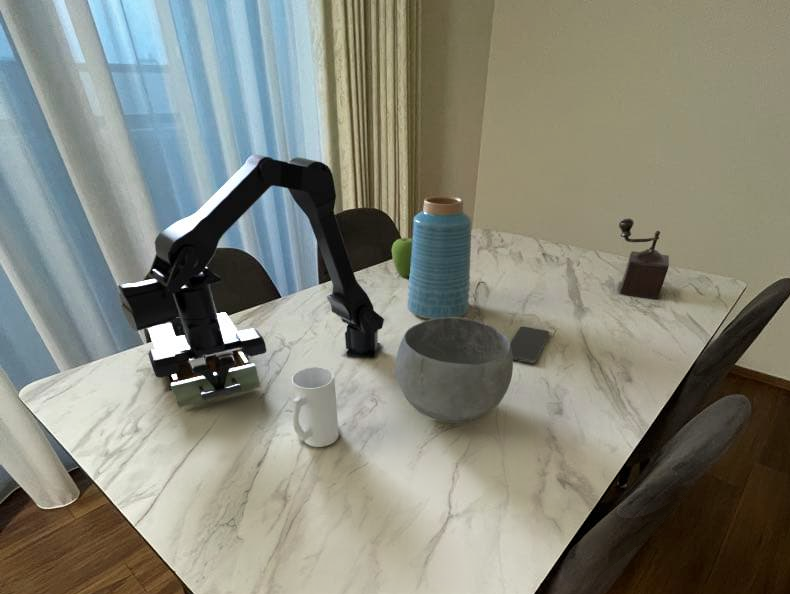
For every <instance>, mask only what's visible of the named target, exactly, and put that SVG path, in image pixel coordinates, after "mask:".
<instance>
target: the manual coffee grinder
mask: <svg viewBox="0 0 790 594" xmlns="http://www.w3.org/2000/svg"><path fill="white" fill-rule="evenodd" d="M633 227H634V220H633V219H632V218H624V219H622V220H621V221H620V222H619V223H618V228H619V230H620V231H621V234H620V237H621V238H623V240H625V242H628V243H648V242H652V244H651V246H650V247H649V248H647V249H645V250H642V251H633V250H631V252H630V254H629V258H628V261H627V263H626V267H625V269H624V272H623V277H622V280H621V283H620V286H619V293H620V295H624V296H629V297H637V298H642V299H643V298H644V299H652V300H658V299H659V297H660V294H661V291H662V288H663V285H664V282H665V279H666V276H667V273H668V270H669V266H670V256H669V255H668V254H663V253H662V254H661V252H659V251H658V250H656V245H657V241H658V240H659V239H660V234H661V231H660V230H656V231H655V233H654V236H653V237H649V238H630V236H632V232H631V230H632V228H633Z"/></svg>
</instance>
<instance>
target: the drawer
mask: <svg viewBox="0 0 790 594" xmlns="http://www.w3.org/2000/svg"><path fill="white" fill-rule="evenodd" d="M232 356H233V357H234V359H235V361H236V363H235V364H234V365H231V366H230V369H229V372H228V374H227V377H226V382H225V387H224V388H221V389H217V390H215V388H214V387H213V386H212V385H211V383H210V382H209V381H208V380H207V379H206V378H205V377H204V376H203V375H202V374H201V373H193V371H192V369H191V367H190V364H189V362H188V361H187V362H182V363H178V364H179V367H180V369H179V371H178V372H177V374H173V375H171V376H172V379H173V382H174V383H170V385H171V388H172V389H171V390H172V393H173V396H174V398H175V399H174V400H175V402H176V404H177V407H178V409H180V408H184V407H189V406H193V405H197V404H200V403H204V402H207V401H211V400H215V399H219V398H223V397H226V396H231V395H234V394H237V393H242V392H245V391H249V390H252V389H256V388H260V387H261V383H260V378H259V374H258V370H257V366H256V364H255V362H253V363H250V364H249V362H250V360H249V361H248V360H247V358H246V357H245V355H244V354H243V352H242V351H241V349H240V350H235V351H233V354H232ZM206 360H207V362H208V364H209V366H210V368H211V370H212V372H213V374H214V377H215V379H216V381H217V375H216V368H215V362H214V358H213V356H209V357H206ZM217 383H218V382H217Z"/></svg>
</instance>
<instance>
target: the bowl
mask: <svg viewBox="0 0 790 594" xmlns="http://www.w3.org/2000/svg"><path fill="white" fill-rule="evenodd" d="M510 343H511V341H510V340H509V338H508V337H507V336H506V335H505V334H504V333H502V332H501V331H499V330H498V329H497V328H496V327H494V326H493V325H490V324H488V323H485V322H481V321H479V320H477V319H473V318H468V317H441V318H434V319H431V320H427V319H426V320H425V321H422V322H419V323H417V324H415V325H412V326H411V327H409V329H407V330H406V331H405V334H404V335H403V337H402V339H401V340H400V344H399V347H398V350H397V353H396V358H395V374H396V375H395V376H396V381H397V384H398V387H399V390H400V392H401V393H402V395H403V397H404V398H405V399H406V401H407V402H408V403H409V404H410V405H411V406H412V407H413V408H414V409H415V410H416V411H417V412H419V413H420V414H422V415H424V416H426V417H428V418H430V419H432V420H436V421H438V422H439V421H440V422H442V423H448V424H449V423H450V424H463V423H468V422H471V421H475V420H477V419H479V418H481V417H483V416H485V415H487V414H489V413H490V412H492V411H493V410H494V409H495V408H497V406H498V405H499V404H500V403H501V402H502V400H503V399H504V397H505V396H506V394H507V392H508V390H509V387H510V384H511V380H512V378H513V370H514V360H513V355H512V350H511V345H510Z"/></svg>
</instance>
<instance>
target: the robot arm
mask: <svg viewBox="0 0 790 594" xmlns="http://www.w3.org/2000/svg"><path fill="white" fill-rule="evenodd" d="M246 159H247V160H246V161H245V163H244V165H242V166H241V167H240V169H239V170H237V171H236V173H234V174H233V176H232V177H231V178H230V179H229V180H227V181H226V182H225V184H224V185H222V186H221V187H220V189H218V190H217V192H215V193H214V194H213V195H212V197H210V199H208V200H207V201H206V203H204V205H202V207H200V209H198V210H197V211H196V212H195V213H193V214H192V215H190V216H187V217H185V218H182V219H180V220H178V221H176V222H174V223H173V224H171V225H170V226H168V227H167V228H165V229H164V230H162V231H161V232H160V233H158V235H157V236H156V238H155V240H154V247H155V256H154V258H153V261H152V264H151V266H150V269H149V271H148V277H149V278H150V279H146V280H142V281H137V282H132V283H130V282H128V283H127V282H126V283H121V284H118V285H117V288H118V290H119V291H118V292H119V298H120V303H119V304H120V307H121V309H122V313H123V314H124V316H125V318H126V321H127V322H128V324H129V326H130V327H131V328H132V330H133V331H134V332H140V331H143V330H148V329H147V328H150V327H154V326H157V325H162V324H168V323H171V325H172V328H173V331H174V334H175V336H176V337H178V336H183V335H185V338H186V342H187V344H188V345H189V347H190V349H187V350H182V351H177V352H174V351H173V348H172V346H171V345H170V346H165V347H160V348H155V349H154V348H151V349H150V350H149V351H148V353H147V354H148V358H149V361H150V364H151V367H152V370H153V373H154V375H155V377H156V378H164V377H165V376H169V375H173V374H177V372H178V371H179V369H180V367H179V364H178V363H182V362H187V361H188V362H189V364H190V367H191V369H192V371H193V373H201V374H202V375H203V376H204V377H205V378H206V379H207V380H208V381H209V382H210V383H211V385H212V386H213V387H214V388H215V390H217V389H221V388H224V387H225V382H226V377H227V374H228V372H229V369H230V366H231V365H234V364H235V363H236V361H235V359H234V357H233V356H232V354H233V351H235V350H240V349H244V353H245V354H247V355H248V357H255V356H259V355H262V354H263V355H264V354H266V353H267V345H266V342H265V340H264V337H263V336H262V335H261V334H260V332H259V331H258V329H256V328H254V327H251V328H246V329H242V330H238V331H236V332H235V336H236V339H233V340H228V341H226V340H223V336H222V332H221V328H220V324H219V320H218V316H217V314H218V312H217V308H216V304H215V301H214V297H213V293H212V289H211V285H214V284H218V283H221V282H222V281H223V278H222V277H221V276H220V275H217V274H216V273H214V272H213V271H212V270H211V269H210V268H209V267H207V266H208V265H209V264H210V262H211V261H212V259H213V257H214V256H215V255H216V252H217V248H218V246H219V242H220V241H221V239H222V237H223V236H224V235H225V234H226V233H227V232H228V231H229V230H230V229H231V228H232V227H233V226H234V225H235V223H237V222H238V221H239V220H240V219H241V217H242V216H243V215H245V213H246V212H247V211H248V210H249V209H251V208H252V206H253V205H255V203H256V202H257V201H258V200H259V199H260V198H261V197H262V196H263V195H264V194H265V193H266V192H267V191H268V190H269V189H270V188H271V187H280V188H285V189H288V191H289V193H290V195H291V197H292V198H293V200H294V202H295V203H296V204H297V206H298V207H299V208H300V209H301V211H302V212H303V214H305V215H306V217H307V219H308V221H309V224H310V226H311V229H312V232H313V235H314V237H315V240H316V242H317V246H318V249H319V251H320V253H321V255H322V259H323V262H324V264H325V267H326V270H327V273H328V275H329V278H330V281H331V283H332V292H331V294H329V295H327V296H326V298H327V300H328V302H329V304H330V307H331V312H332V313H333V314H335V315H336V316H338V317H339V318H340V319H341V321H342V323H344V324H347V325H346V330H345V332H344V340H345V341H344V342H345V349H346V350H347V351H346V354H345V355H346V356H349V357H361V358H372V359H373V358H375V357H376V355H377V352H378V351H379V348H380V346H381V344H380V342H379V335H378V333H379V332H378V331H379V330H381V329H383V326H384V322H385V319H384V318H383V316H381V314H378V313H377V312H376V311H375V310H374V304H373V303H372V301H371V299H370V297H369V295H368V294H367V292H366V291H365V290H364V288H363V287H362V286H361V284H360V283H358V281H357V278H356V276H355V272H354V269H353V265H352V262H351V260H350V257H349V253H348V251H347V247H346V244H345V241H344V238H343V235H342V232H341V229H340V226H339V222H338V219H337V217H336V214H335V213H336V212H335V205H336V201H337V200H336V199H337V192H336V186H335V181H334V180H335V179H334V175H333V173H332V170H331V168H330V167H329V166H328V165H327V164H325V163H323V162H322V161H319V160H313V159H309V158H304V157H293V158H292V159H291V160H289V161H283V160H279V159H274V158H272V157H271V156H270V157H269V156H265V155H261V154H252V155H251V156H249V157H248V158H246ZM170 270H171V271H170ZM169 271H170V272H169ZM177 313H178V314H179V316H178V315H177ZM209 356H213V358H214V362H215V368H216V375H217V381H216V379H215V377H214V374H213V372H212V370H211V368H210V366H209V364H208V362H207V360H206V357H209ZM217 382H218V383H217Z"/></svg>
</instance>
